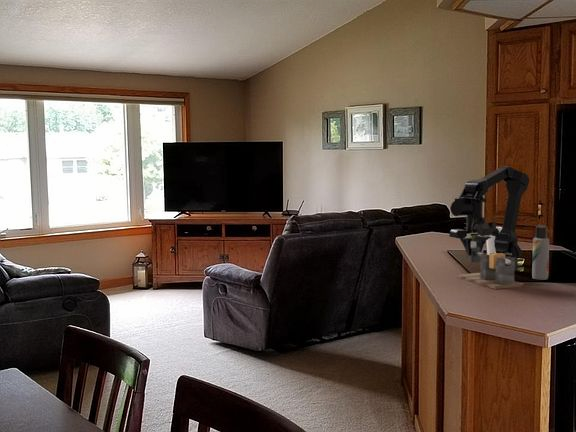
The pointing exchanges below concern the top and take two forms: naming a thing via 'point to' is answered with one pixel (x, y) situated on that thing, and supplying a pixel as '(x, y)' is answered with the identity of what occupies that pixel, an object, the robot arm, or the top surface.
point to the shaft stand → (494, 274)
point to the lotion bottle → (540, 254)
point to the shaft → (476, 256)
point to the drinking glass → (491, 243)
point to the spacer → (494, 259)
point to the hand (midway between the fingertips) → (474, 255)
